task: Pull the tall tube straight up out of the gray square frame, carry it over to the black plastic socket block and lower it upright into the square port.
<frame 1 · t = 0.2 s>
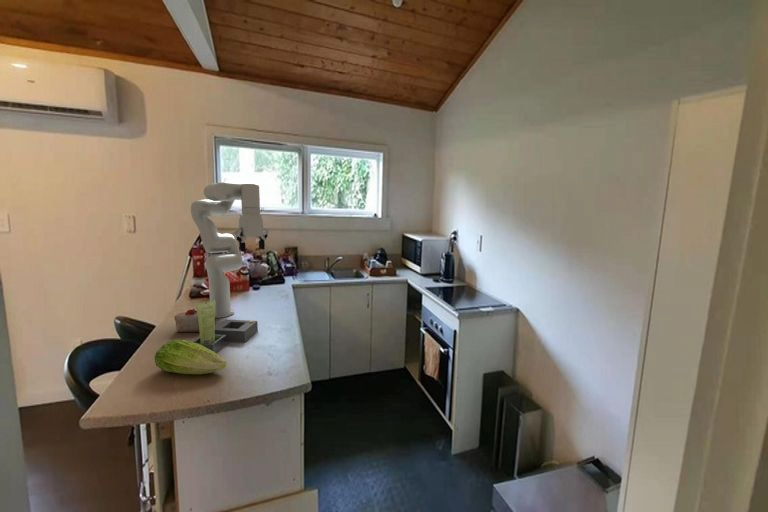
hand: (252, 250, 158), 37 cm above the worktop, tool pointing down, fingers open, 9 cm apart
food item: (192, 330, 162), on the worktop
lettuce: (193, 372, 124), on the worktop
gray square frame: (208, 348, 143), on the worktop
port block: (235, 336, 156), on the worktop
tube: (208, 349, 143), resting in gray square frame
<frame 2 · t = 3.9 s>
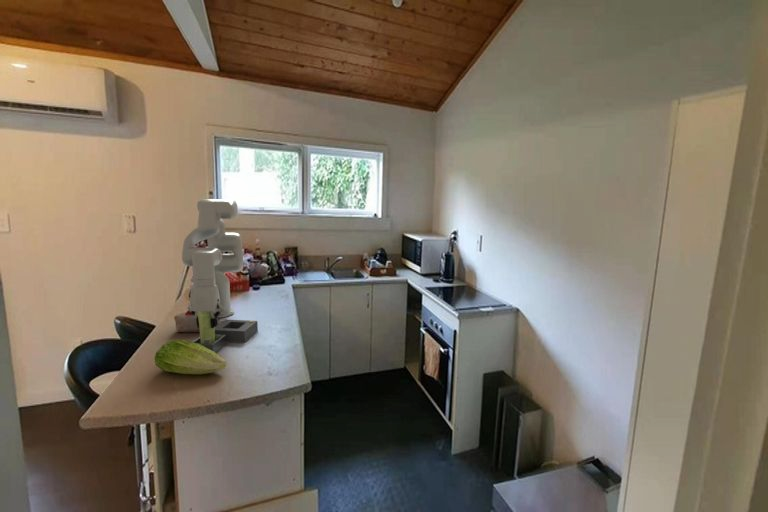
hand: (207, 326, 141), 9 cm above the worktop, tool pointing down, fingers closed on tube, 4 cm apart
tube: (208, 349, 143), resting in gray square frame, touching gripper
everything else where it was.
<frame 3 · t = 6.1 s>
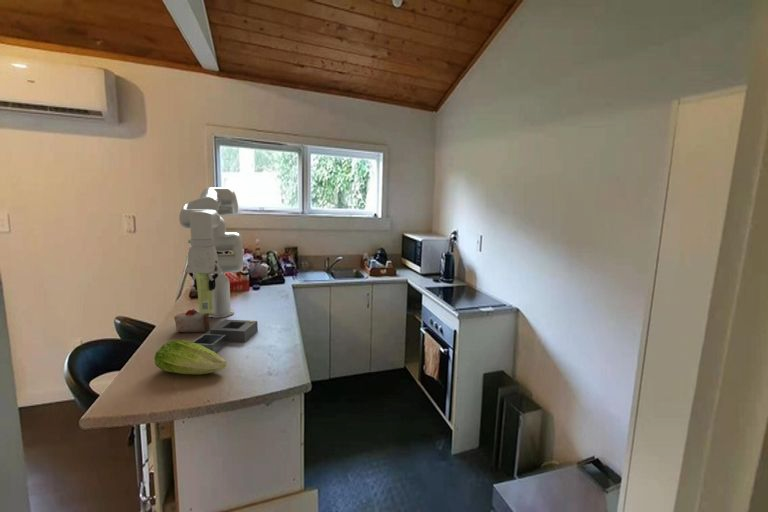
hand: (205, 288, 139), 25 cm above the worktop, tool pointing down, fingers closed on tube, 4 cm apart
tube: (206, 312, 141), point 15 cm above the worktop, touching gripper
everything else where it was.
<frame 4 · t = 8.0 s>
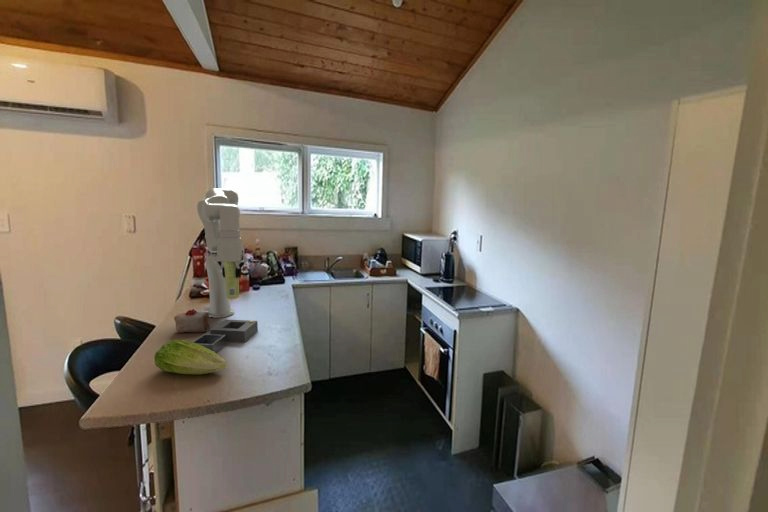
hand: (232, 276, 152), 27 cm above the worktop, tool pointing down, fingers closed on tube, 4 cm apart
tube: (233, 298, 154), point 17 cm above the worktop, touching gripper
everything else where it was.
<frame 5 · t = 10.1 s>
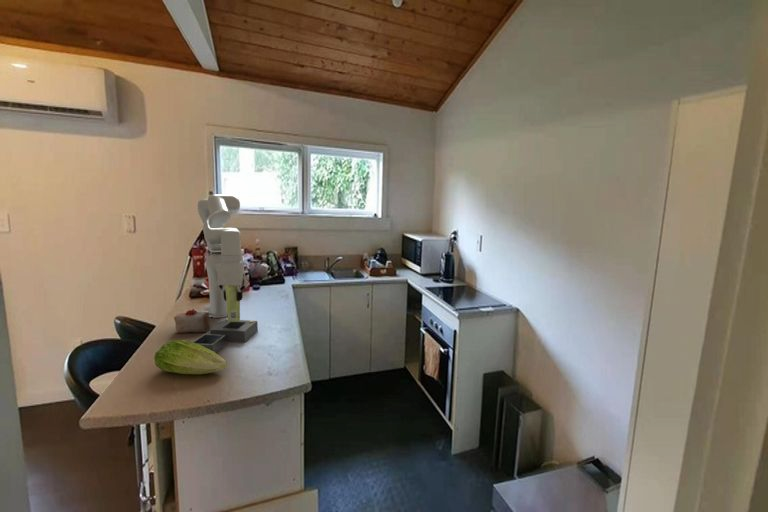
hand: (233, 299, 153), 17 cm above the worktop, tool pointing down, fingers closed on tube, 4 cm apart
tube: (234, 320, 155), point 7 cm above the worktop, touching gripper
everything else where it was.
when the fingers open (10 cm above the worktop, at t = 12.1 s): tube stays where it is, resting in port block.
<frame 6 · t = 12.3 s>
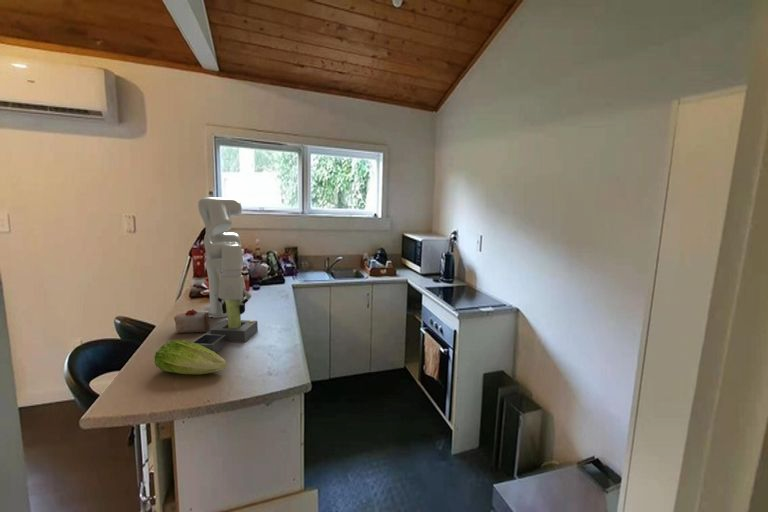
hand: (233, 312, 154), 11 cm above the worktop, tool pointing down, fingers open, 6 cm apart
tube: (235, 336, 156), resting in port block
everything else where it was.
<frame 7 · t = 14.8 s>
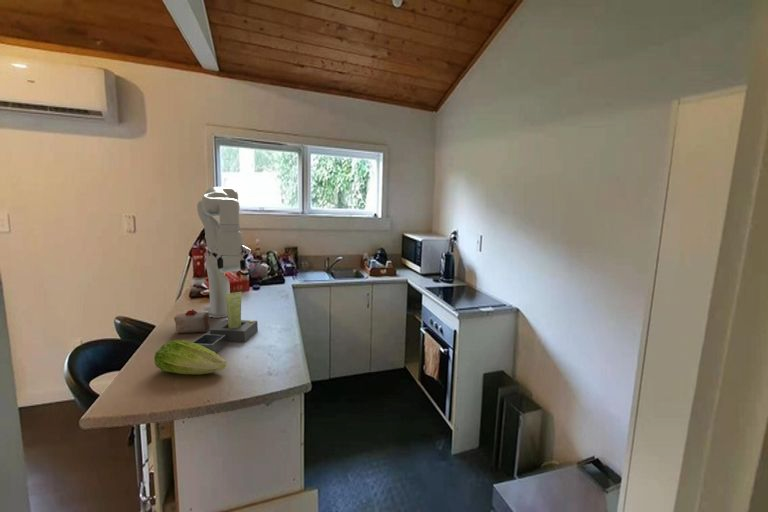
hand: (231, 268, 151), 30 cm above the worktop, tool pointing down, fingers open, 9 cm apart
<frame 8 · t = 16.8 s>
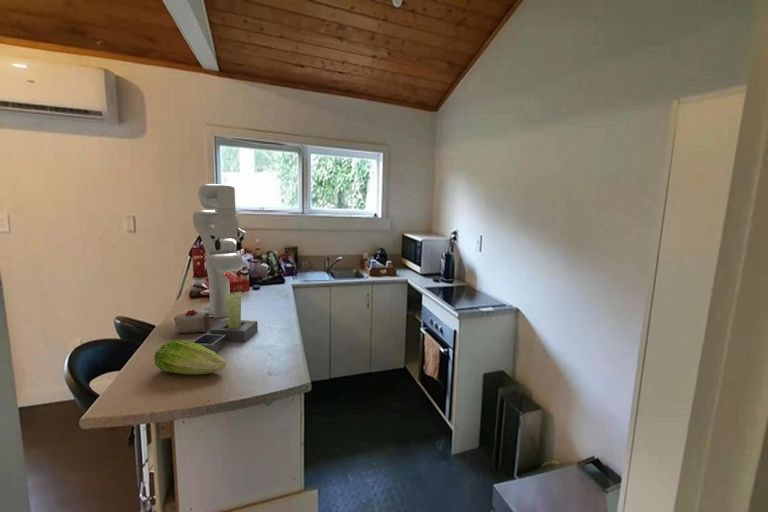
hand: (228, 250, 162), 36 cm above the worktop, tool pointing down, fingers open, 9 cm apart
at the end: tube 0.3 cm from the port block (horizontally); tube tilted 0°; the gripper is holding nothing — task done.
